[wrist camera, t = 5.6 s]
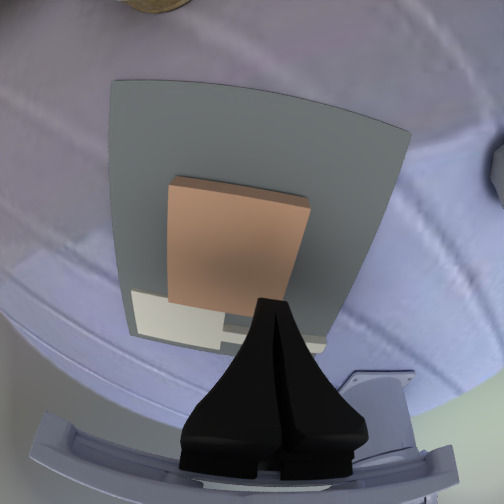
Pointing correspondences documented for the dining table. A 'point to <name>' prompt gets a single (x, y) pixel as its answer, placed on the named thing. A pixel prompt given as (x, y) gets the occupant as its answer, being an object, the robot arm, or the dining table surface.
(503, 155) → the salt shaker
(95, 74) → the dining table surface
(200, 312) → the turner
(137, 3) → the sprinkles bottle
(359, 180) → the mat
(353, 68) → the dining table surface
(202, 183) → the tile
